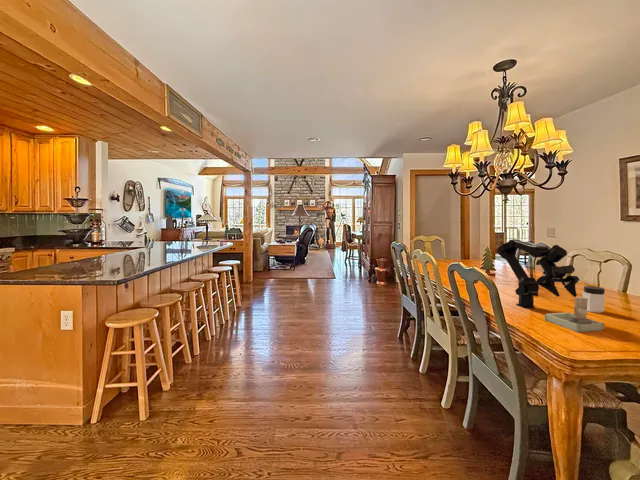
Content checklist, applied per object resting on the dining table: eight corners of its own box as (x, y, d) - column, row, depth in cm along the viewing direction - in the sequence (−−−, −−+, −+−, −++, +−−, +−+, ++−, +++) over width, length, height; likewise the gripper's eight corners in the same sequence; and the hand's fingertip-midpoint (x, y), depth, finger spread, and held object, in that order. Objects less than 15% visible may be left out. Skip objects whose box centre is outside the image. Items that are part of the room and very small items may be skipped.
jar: (599, 313, 159) (601, 290, 158) (579, 309, 165) (581, 287, 164) (605, 311, 163) (607, 288, 163) (586, 307, 170) (587, 285, 169)
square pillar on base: (568, 323, 142) (570, 296, 141) (578, 323, 142) (580, 296, 141) (580, 328, 136) (581, 299, 135) (591, 328, 136) (593, 299, 135)
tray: (544, 320, 148) (545, 314, 148) (567, 318, 151) (568, 312, 151) (578, 332, 133) (578, 325, 133) (603, 330, 135) (604, 323, 135)
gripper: (545, 257, 148) (563, 287, 139) (578, 259, 151) (598, 288, 142) (529, 270, 157) (545, 299, 147) (561, 271, 160) (578, 299, 151)
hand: (567, 296), depth 147 cm, fingers open, 9 cm apart
